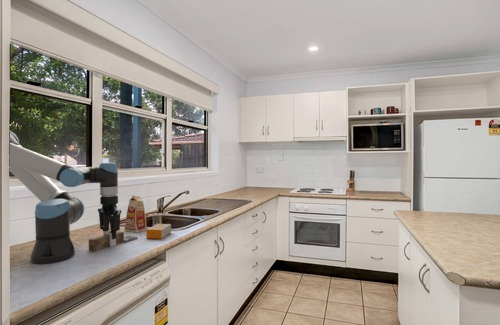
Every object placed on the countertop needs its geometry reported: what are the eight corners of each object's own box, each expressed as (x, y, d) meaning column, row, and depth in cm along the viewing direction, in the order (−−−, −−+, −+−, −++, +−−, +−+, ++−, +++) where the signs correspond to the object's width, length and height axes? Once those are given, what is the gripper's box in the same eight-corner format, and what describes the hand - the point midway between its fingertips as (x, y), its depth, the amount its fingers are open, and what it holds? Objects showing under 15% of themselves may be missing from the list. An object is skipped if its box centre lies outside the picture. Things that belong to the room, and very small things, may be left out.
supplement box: (161, 239, 146) (171, 232, 159) (161, 230, 146) (171, 223, 159) (145, 238, 147) (157, 232, 160) (145, 229, 147) (157, 223, 160)
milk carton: (137, 232, 160) (136, 196, 160) (123, 231, 163) (123, 195, 163) (147, 228, 169) (147, 194, 168) (134, 227, 172) (134, 193, 171)
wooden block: (95, 252, 127) (95, 240, 127) (86, 250, 130) (86, 239, 130) (137, 238, 148) (137, 229, 147) (129, 237, 150) (129, 227, 150)
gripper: (127, 195, 136) (128, 245, 137) (104, 193, 143) (105, 240, 144) (114, 197, 129) (114, 249, 130) (90, 195, 137) (91, 245, 137)
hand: (110, 245), depth 137 cm, fingers open, 3 cm apart
